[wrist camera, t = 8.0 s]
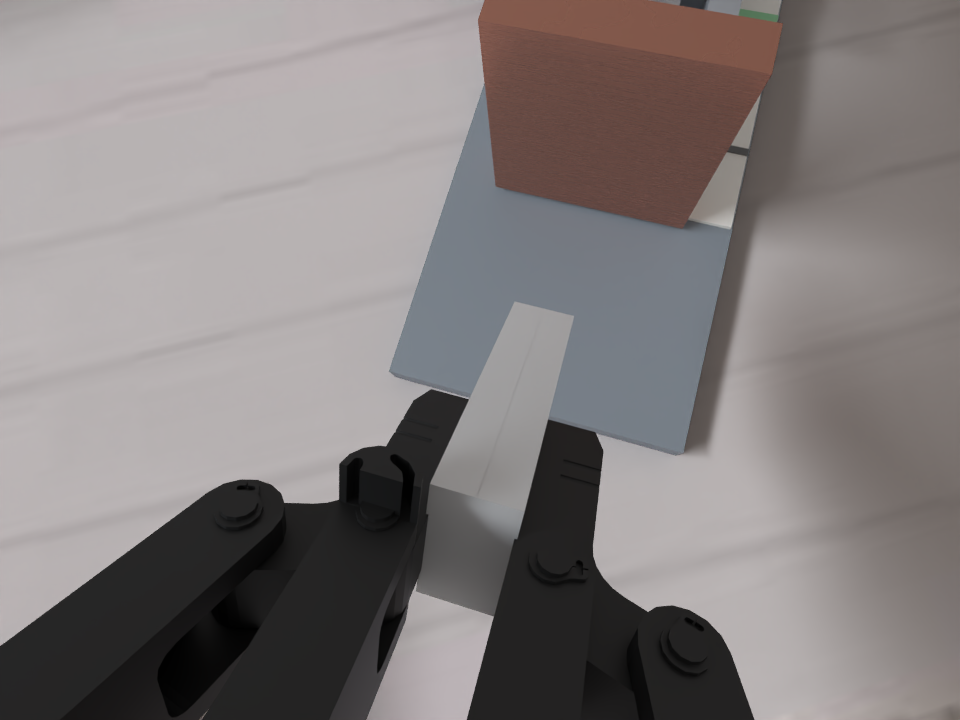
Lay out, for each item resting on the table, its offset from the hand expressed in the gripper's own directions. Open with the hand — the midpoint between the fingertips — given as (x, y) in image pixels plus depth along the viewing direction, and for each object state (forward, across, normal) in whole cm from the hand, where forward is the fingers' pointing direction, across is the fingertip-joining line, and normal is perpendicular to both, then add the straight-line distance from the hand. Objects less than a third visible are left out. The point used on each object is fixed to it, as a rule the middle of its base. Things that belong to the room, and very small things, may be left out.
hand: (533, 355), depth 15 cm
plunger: (+16, +1, +4) cm, 17 cm away
